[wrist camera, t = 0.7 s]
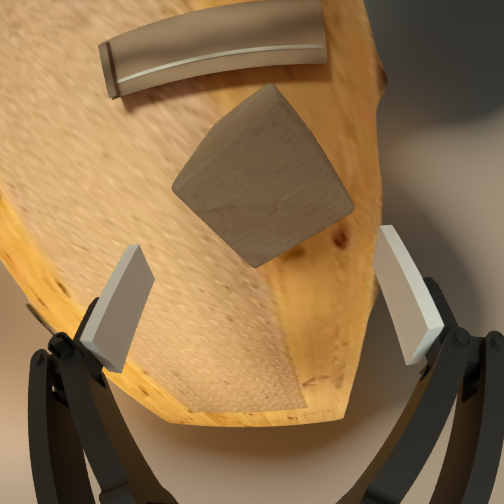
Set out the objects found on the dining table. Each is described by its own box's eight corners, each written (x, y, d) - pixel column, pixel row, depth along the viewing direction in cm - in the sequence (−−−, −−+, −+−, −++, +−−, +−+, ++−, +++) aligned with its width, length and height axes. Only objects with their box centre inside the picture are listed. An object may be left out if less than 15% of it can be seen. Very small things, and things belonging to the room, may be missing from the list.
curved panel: (109, 43, 26) (96, 43, 23) (316, 3, 23) (321, -3, 20) (120, 97, 31) (108, 101, 29) (323, 63, 28) (329, 63, 25)
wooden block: (315, 138, 35) (358, 212, 20) (258, 176, 39) (253, 272, 24) (271, 81, 30) (279, 99, 15) (212, 125, 35) (166, 190, 19)
